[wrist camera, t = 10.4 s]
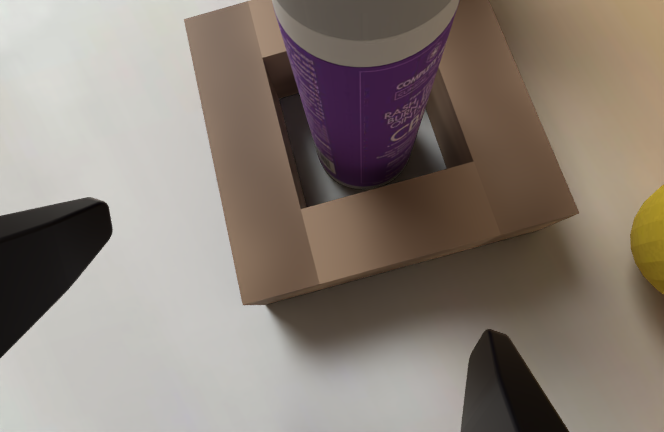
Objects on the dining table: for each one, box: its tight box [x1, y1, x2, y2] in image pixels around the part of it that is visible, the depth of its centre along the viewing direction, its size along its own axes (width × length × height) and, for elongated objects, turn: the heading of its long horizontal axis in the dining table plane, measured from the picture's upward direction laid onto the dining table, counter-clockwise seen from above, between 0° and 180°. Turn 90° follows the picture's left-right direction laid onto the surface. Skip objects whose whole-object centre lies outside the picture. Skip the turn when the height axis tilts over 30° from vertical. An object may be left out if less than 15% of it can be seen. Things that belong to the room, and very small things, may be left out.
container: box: [272, 0, 460, 189], centre depth 12 cm, size 5×5×15 cm
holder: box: [184, 0, 579, 305], centre depth 18 cm, size 13×13×4 cm
